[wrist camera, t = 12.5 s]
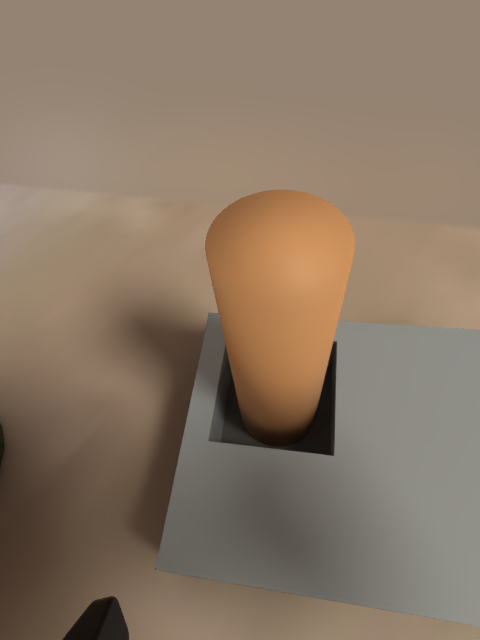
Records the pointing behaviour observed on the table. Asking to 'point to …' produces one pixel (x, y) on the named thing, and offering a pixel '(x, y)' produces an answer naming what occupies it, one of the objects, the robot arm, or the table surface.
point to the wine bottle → (1, 443)
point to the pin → (279, 304)
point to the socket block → (342, 478)
